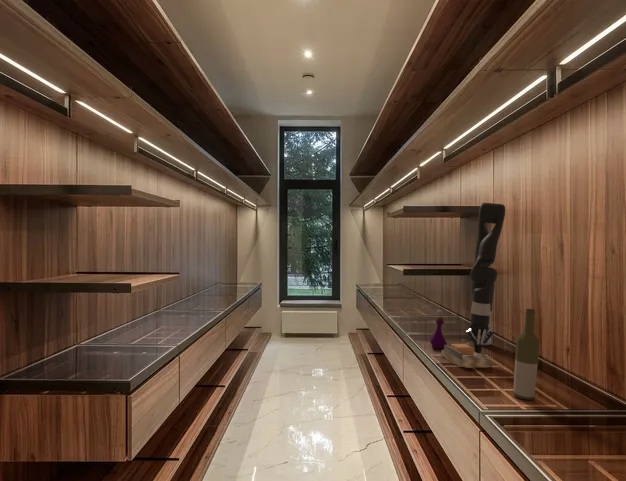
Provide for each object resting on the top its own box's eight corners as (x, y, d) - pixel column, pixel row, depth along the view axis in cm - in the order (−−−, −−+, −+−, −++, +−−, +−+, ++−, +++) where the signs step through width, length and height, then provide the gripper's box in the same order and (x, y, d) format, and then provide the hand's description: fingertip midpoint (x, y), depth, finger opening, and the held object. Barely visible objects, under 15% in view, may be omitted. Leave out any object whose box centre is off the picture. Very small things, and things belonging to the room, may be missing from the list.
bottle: (526, 393, 139) (533, 307, 138) (540, 401, 132) (547, 312, 132) (507, 392, 138) (514, 307, 138) (520, 401, 131) (527, 311, 131)
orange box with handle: (466, 352, 174) (467, 342, 174) (473, 356, 169) (474, 345, 169) (450, 353, 172) (451, 342, 172) (457, 356, 167) (457, 345, 167)
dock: (470, 356, 179) (471, 344, 179) (491, 367, 166) (492, 354, 166) (441, 356, 176) (441, 344, 176) (459, 367, 162) (460, 354, 162)
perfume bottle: (446, 351, 185) (449, 312, 185) (429, 349, 187) (432, 311, 187) (444, 346, 193) (447, 309, 192) (428, 344, 194) (431, 308, 194)
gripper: (472, 314, 167) (469, 355, 167) (499, 315, 170) (496, 355, 170) (461, 310, 174) (458, 349, 175) (488, 311, 177) (485, 349, 178)
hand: (477, 352), depth 172 cm, fingers closed
